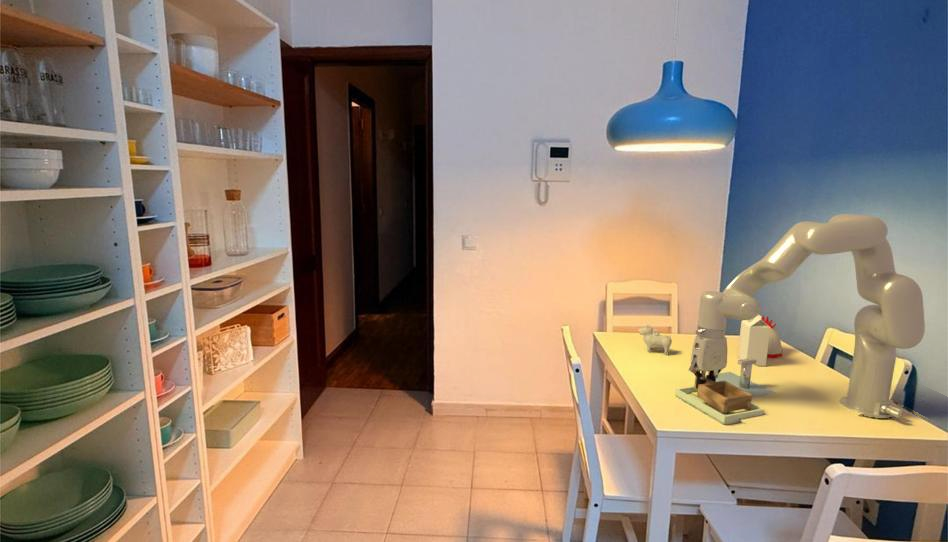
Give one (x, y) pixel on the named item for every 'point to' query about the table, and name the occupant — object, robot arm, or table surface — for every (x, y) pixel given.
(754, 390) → the stake board
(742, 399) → the open wooden box
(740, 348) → the milk carton
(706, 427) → the table surface
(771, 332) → the kitchen timer
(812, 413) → the table surface
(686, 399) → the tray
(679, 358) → the table surface
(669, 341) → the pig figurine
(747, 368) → the stake
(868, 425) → the table surface
